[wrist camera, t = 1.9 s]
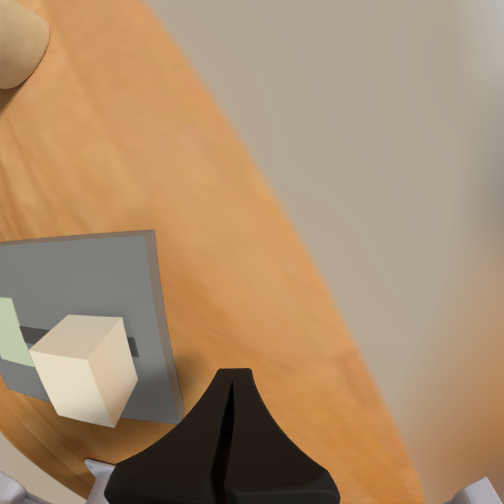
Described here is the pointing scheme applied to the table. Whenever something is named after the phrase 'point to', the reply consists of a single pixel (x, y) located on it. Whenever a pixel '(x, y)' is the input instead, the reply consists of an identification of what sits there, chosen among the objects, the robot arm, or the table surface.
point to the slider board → (89, 310)
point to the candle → (20, 42)
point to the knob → (86, 368)
